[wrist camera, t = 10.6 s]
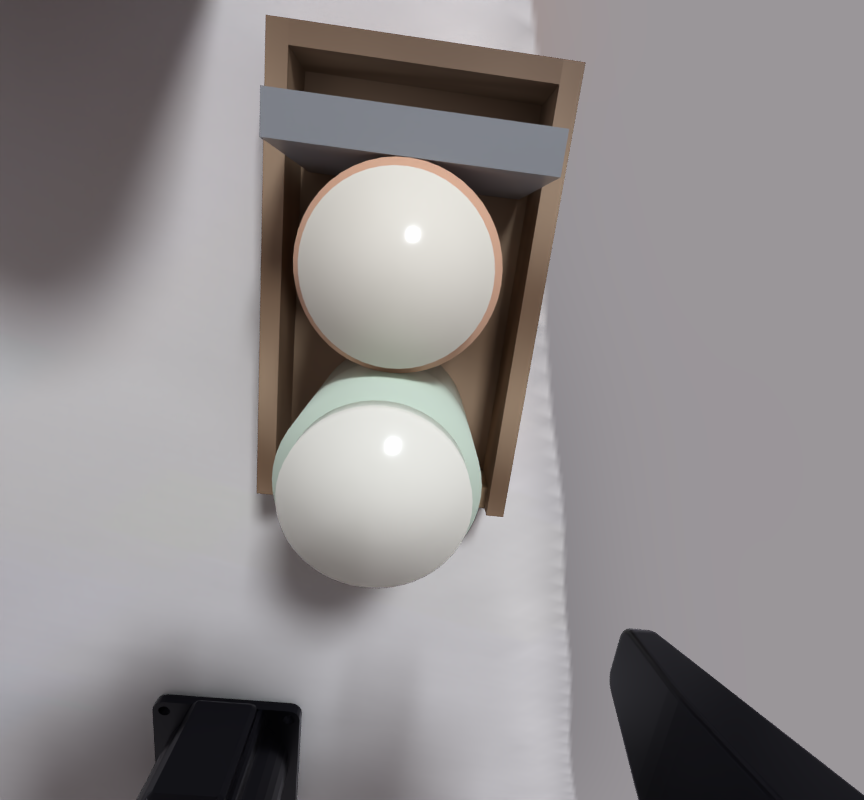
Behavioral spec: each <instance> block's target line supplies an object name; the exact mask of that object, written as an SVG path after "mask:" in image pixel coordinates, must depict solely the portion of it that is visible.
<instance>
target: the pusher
mask: <svg viewBox="0 0 864 800" xmlns="http://www.w3.org/2000/svg"><path fill="white" fill-rule="evenodd" d="M568 133H569V129H567V128H560V127H552V126H545V125H538V124H531V123H524V122H517V121H510V120H503V119H496V118H489V117H481V116H474V115H467V114H460V113H453V112H446V111H439V110H432V109H425V108H418V107H411V106H403V105H396V104H389V103H382V102H375V101H368V100H361V99H354V98H347V97H340V96H332V95H325V94H318V93H311V92H304V91H297V90H290V89H283V88H276V87H269V86H262V85H260V136H259V137H261V138H262V139H263V140H265V141H266V142H268V143H269V144H271V145H272V146H273V147H275V148H276V149H278V150H279V151H280V152H282V153H283V154H285V155H286V156H287V157H289V158H290V159H292V160H293V161H294V162H296V163H297V164H299V165H300V166H301V167H303V168H304V169H306V170H307V171H308V172H313V173H321V174H328V175H336V176H337V175H339V174H340V173H341V172H343V171H345V170H347V169H349V168H350V167H352V166H354V165H357V164H359V163H362V162H365V161H368V160H372V159H377V158H381V157H395V156H396V157H410V158H415V159H420V160H424V161H427V162H430V163H432V164H435V165H438V166H440V167H442V168H444V169H445V170H447V171H449V172H451V173H452V174H454V175H455V176H456V177H458V178H459V179H461V180H462V181H463V182H464V183H465V184H466V185H467V186H468V187H469V188H471V189H472V190H473V191H474V193H475V194H479V195H487V196H495V197H502V198H510V199H517V200H519V199H521V198H523V197H525V196H527V195H529V194H531V193H532V192H534V191H536V190H538V189H540V188H542V187H544V186H546V185H547V184H549V183H551V182H553V181H555V180H557V179H559V178H560V177H561V173H562V167H563V161H564V156H565V150H566V145H567V139H568Z"/></svg>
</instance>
